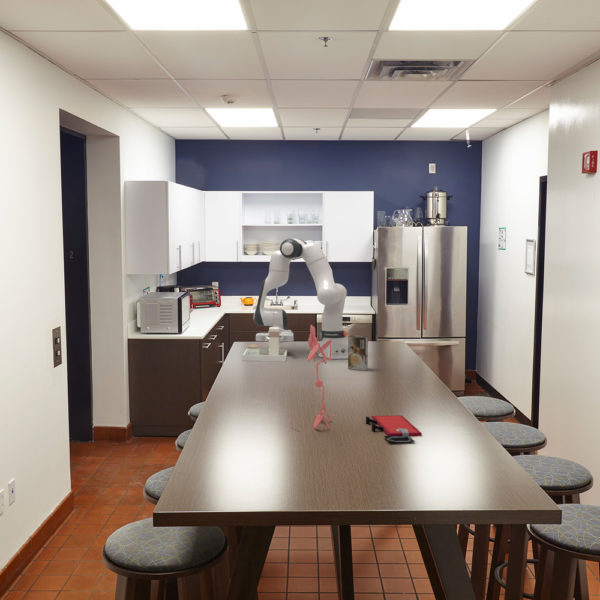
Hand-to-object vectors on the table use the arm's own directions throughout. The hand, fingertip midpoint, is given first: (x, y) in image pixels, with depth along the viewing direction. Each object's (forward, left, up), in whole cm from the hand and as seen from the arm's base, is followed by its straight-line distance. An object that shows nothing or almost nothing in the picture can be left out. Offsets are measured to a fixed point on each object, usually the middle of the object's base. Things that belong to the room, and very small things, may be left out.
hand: (274, 339), depth 343 cm
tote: (+5, 0, -11) cm, 11 cm away
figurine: (-19, +115, -11) cm, 117 cm away
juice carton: (0, -1, -8) cm, 8 cm away
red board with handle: (-48, +120, -11) cm, 130 cm away
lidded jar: (+11, +2, -10) cm, 14 cm away
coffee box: (-42, +20, -11) cm, 48 cm away
